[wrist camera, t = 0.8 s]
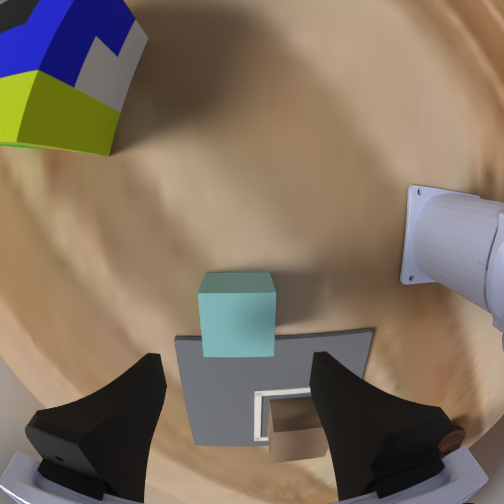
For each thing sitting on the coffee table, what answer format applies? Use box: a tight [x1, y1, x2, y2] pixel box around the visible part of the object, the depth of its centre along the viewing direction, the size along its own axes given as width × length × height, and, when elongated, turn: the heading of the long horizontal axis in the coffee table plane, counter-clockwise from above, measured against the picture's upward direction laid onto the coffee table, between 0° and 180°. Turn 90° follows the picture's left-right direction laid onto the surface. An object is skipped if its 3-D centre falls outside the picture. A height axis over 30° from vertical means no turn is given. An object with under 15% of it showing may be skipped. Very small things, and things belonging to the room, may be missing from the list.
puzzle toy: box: [0, 0, 148, 156], centre depth 11 cm, size 10×10×10 cm
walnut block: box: [267, 396, 329, 463], centre depth 20 cm, size 5×5×4 cm
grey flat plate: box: [174, 328, 373, 446], centre depth 22 cm, size 16×14×1 cm
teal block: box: [198, 272, 276, 357], centre depth 18 cm, size 4×4×4 cm
